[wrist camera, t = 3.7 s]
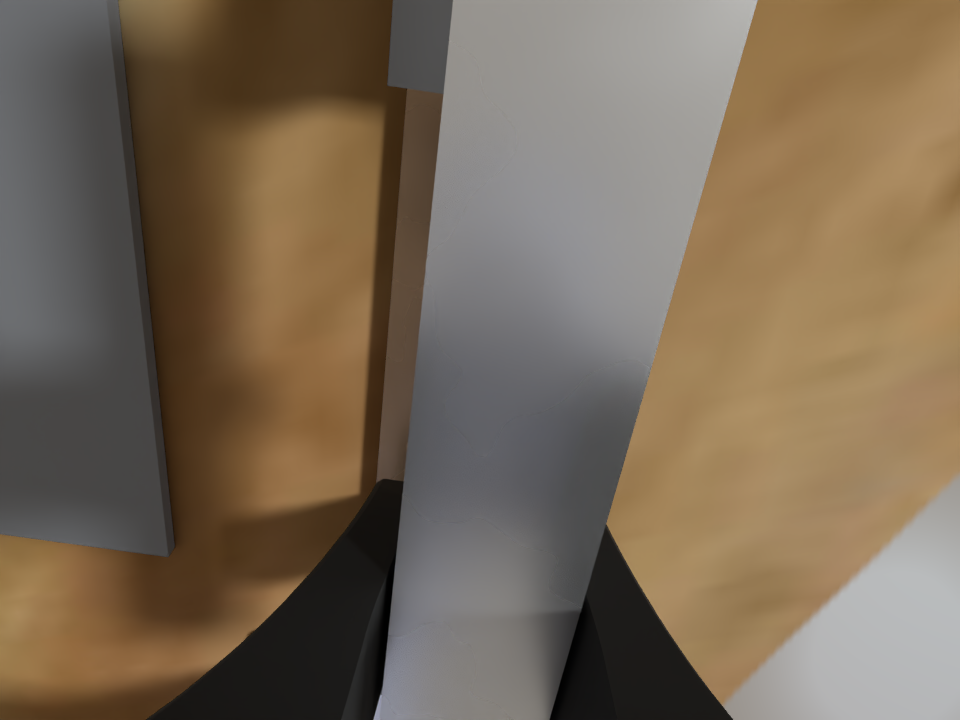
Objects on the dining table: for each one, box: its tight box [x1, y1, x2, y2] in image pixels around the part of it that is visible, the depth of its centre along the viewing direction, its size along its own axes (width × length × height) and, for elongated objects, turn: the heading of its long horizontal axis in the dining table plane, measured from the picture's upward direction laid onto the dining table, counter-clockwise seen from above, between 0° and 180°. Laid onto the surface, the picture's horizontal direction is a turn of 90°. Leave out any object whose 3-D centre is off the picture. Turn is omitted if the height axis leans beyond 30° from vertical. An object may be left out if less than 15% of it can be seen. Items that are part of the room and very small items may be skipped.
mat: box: [0, 0, 175, 557], centre depth 19 cm, size 21×6×1 cm, turn 172°
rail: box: [379, 0, 757, 720], centre depth 10 cm, size 20×2×2 cm, turn 172°
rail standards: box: [376, 0, 453, 695], centre depth 17 cm, size 21×6×5 cm, turn 172°
